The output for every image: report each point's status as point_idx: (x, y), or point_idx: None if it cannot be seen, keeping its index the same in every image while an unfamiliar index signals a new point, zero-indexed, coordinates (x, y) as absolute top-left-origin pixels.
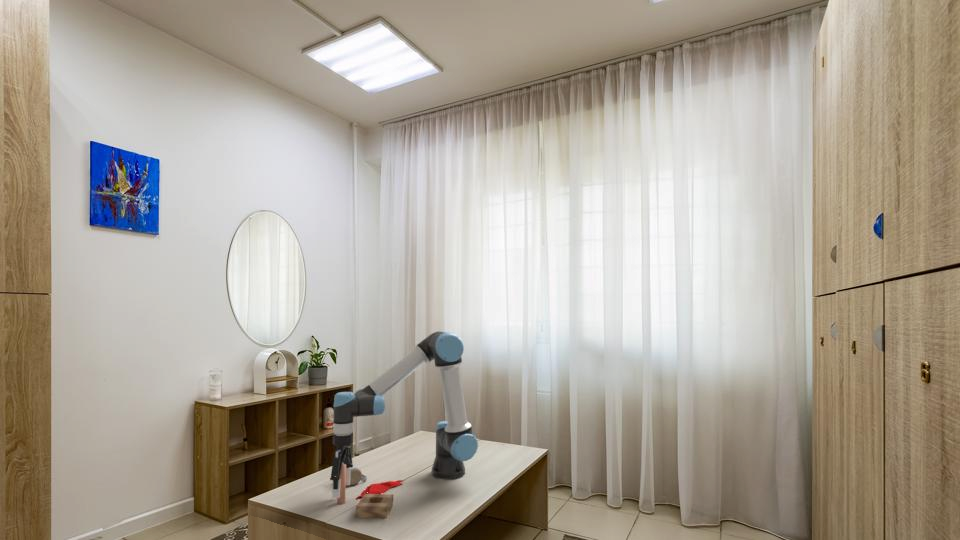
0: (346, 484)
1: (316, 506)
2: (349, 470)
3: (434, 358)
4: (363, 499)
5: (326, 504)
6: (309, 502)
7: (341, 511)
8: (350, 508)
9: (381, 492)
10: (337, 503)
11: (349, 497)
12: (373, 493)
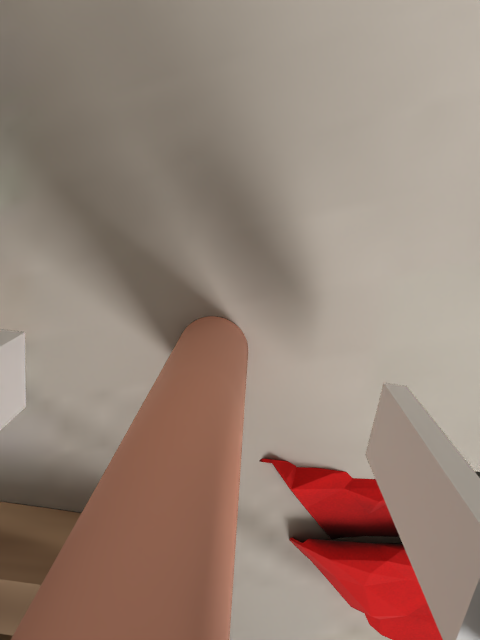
0: (376, 429)
1: (135, 136)
2: (437, 611)
3: None
4: (11, 598)
5: (180, 226)
6: (241, 26)
7: (36, 380)
8: (95, 437)
9: (376, 618)
10: (190, 324)
11: (323, 401)
12: (337, 581)
